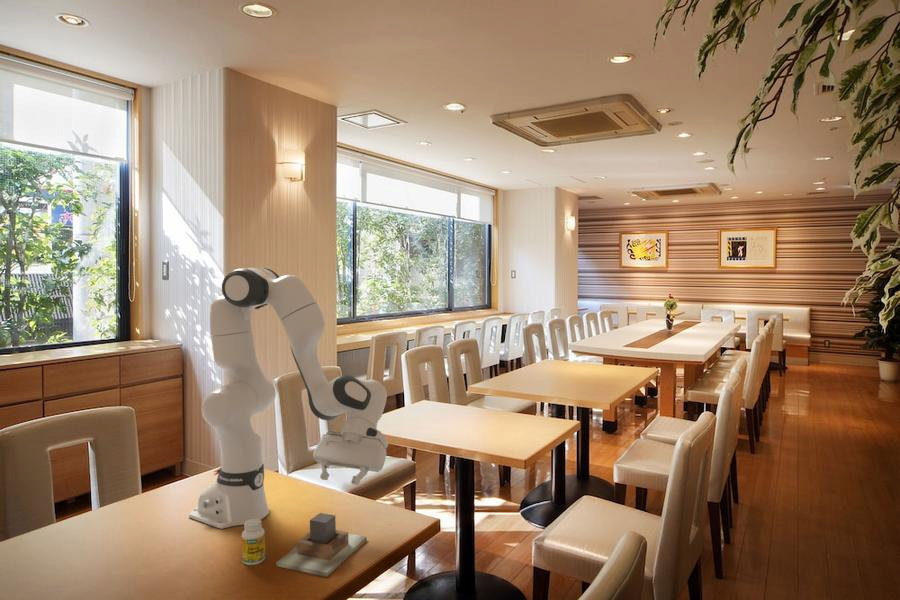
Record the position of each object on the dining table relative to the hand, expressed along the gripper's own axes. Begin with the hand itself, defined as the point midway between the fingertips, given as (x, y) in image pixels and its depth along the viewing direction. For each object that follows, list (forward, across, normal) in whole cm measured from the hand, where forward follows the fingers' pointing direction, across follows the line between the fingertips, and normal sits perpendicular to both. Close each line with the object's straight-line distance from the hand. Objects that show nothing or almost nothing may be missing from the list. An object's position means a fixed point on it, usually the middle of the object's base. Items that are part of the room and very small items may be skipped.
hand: (338, 481), depth 152 cm
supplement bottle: (+23, -14, -1) cm, 27 cm away
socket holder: (+16, 0, +5) cm, 17 cm away
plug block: (+16, 0, +5) cm, 16 cm away
